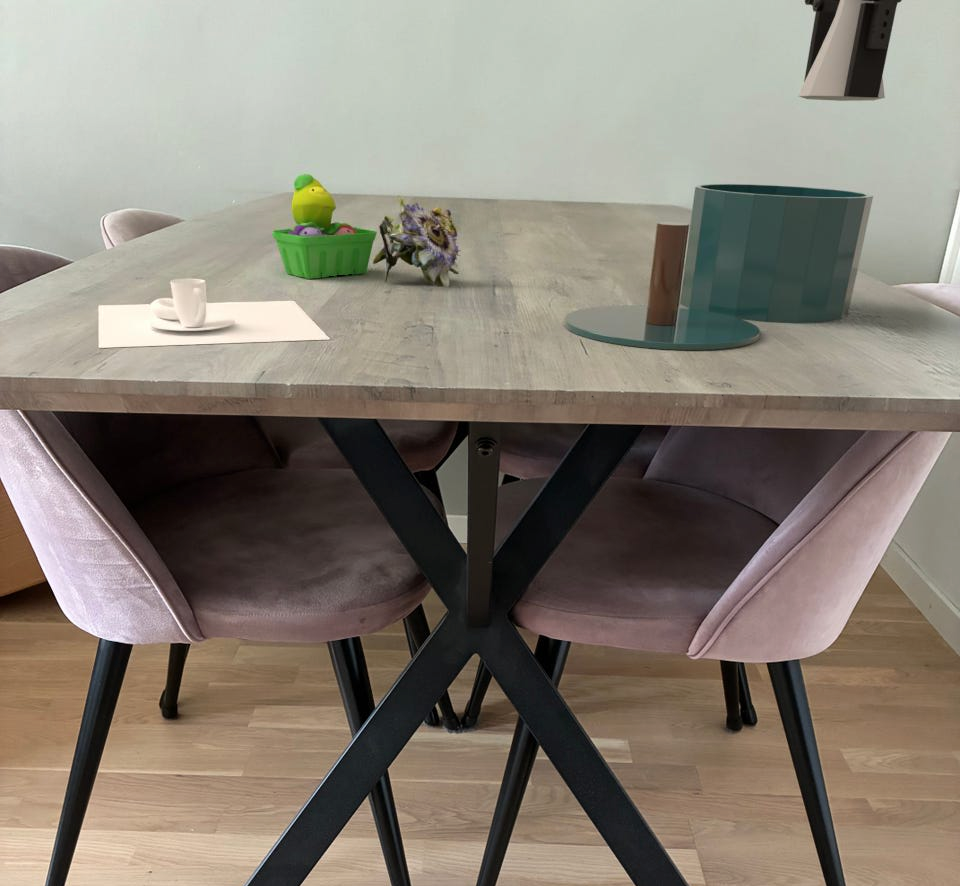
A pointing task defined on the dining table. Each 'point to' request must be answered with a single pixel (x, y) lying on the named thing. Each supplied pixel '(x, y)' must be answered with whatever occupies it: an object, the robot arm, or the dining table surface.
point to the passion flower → (421, 242)
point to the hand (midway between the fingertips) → (838, 97)
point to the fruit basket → (321, 236)
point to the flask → (836, 58)
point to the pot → (774, 251)
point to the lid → (663, 309)
